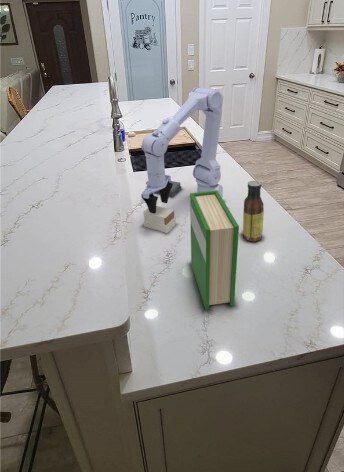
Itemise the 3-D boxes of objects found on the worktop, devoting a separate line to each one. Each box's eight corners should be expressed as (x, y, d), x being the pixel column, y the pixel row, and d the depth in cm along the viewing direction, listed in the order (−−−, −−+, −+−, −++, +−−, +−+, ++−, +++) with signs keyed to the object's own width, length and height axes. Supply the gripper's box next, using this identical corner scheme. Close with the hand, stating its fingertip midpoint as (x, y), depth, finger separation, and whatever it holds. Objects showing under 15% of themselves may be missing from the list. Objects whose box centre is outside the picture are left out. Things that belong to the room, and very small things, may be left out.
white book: (174, 217, 116) (173, 210, 114) (166, 225, 111) (165, 218, 110) (152, 211, 120) (152, 204, 118) (144, 219, 116) (143, 211, 114)
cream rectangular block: (176, 224, 117) (176, 217, 115) (167, 233, 112) (166, 226, 111) (153, 218, 121) (152, 211, 120) (143, 226, 117) (142, 219, 115)
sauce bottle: (263, 233, 110) (269, 180, 101) (259, 244, 105) (265, 189, 96) (244, 229, 112) (247, 177, 103) (239, 239, 107) (243, 185, 98)
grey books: (182, 189, 141) (181, 182, 140) (172, 197, 135) (171, 191, 134) (160, 184, 147) (159, 178, 145) (149, 192, 140) (148, 185, 139)
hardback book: (234, 305, 83) (238, 226, 72) (205, 309, 82) (206, 230, 71) (215, 261, 99) (217, 190, 87) (191, 264, 98) (189, 193, 87)
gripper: (157, 161, 114) (160, 195, 121) (133, 178, 104) (137, 214, 110) (175, 165, 111) (176, 199, 118) (151, 182, 100) (154, 219, 107)
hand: (158, 207), depth 114 cm, fingers open, 7 cm apart
